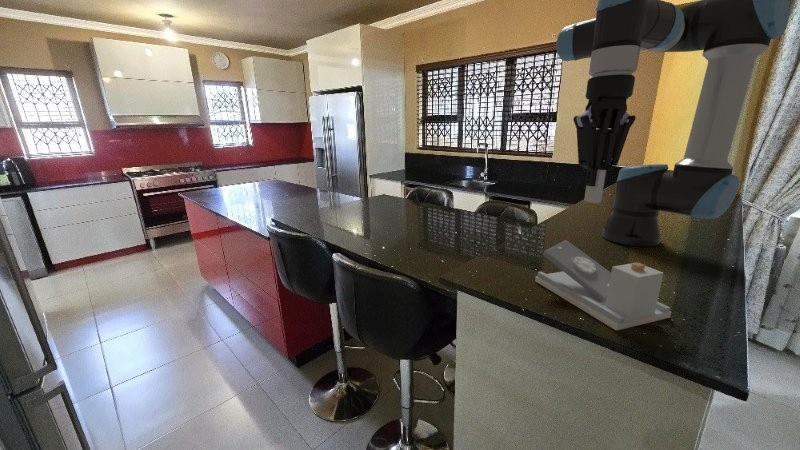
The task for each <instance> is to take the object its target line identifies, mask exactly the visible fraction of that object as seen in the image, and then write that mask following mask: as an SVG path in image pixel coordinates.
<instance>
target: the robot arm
mask: <svg viewBox="0 0 800 450" xmlns="http://www.w3.org/2000/svg"><path fill="white" fill-rule="evenodd" d="M595 10H596V13H595V15H596V16H595V17H594V18H590V19H587V20H584V21H580V22H575V23H573V24H571V25H570V24H569V25H568V26H565V27H563V28H562V29H561V30H560V32H559V34H558V35H557V38H556V52H557V53H556V54H557V55H558V57H559V58H560V59H561V60H562V61H564V62H572V61H575V62H576V61H579V60H585V59H589V58H590V62H589V63H590V64H589V70H588V74H589V76H591V77H590V78H588V80H587V83H586V84H587V85H586V92H585V99H586V100H588V102H587V104H586V106H585V109H584V110H585V111H584V112H582V113H581V114H580V115H579V114H578V115H574V117H573V119H572V120H573V123H574V125H575V128H576V142H577V145H576V146H577V159H578V161H577V163H578V166H579V167H582V169H585V170H586V173H585V181H584V185H585V190H584V191H585V192H584V199H583V202H587V203H592V204H602V198H603V192H604V186H605V185H606V182H607V177H608V176H607V175H608V170H609V171H612V170H613V169H614V167H616V166H618V164H619V160H620V158H621V155H622V151H623V150H624V147H625V143H626V141H627V137H628V135H629V133H630V129H631V127H633V125H634V123H635V122H636V115H630V114H629V113H628V112H627V111H628V104H627V101H628V99H630V98H631V97H632V96H633V93H634V87H635V81H636V76H635V75H633V74H634V73H635V72H636V71H637V70H638V65H639V61H640V60H639V59H640V54H641V52H642V51H648V52H651V53H658V54H660V53H687V52H698V51H702V57H703V58H704V59H706V60H707V67H706V69H705V73H704V77H703V81H702V85H701V89H700V93H699V97H698V101H697V104H696V109H695V111H694V112H695V113H694V116H693V117H694V118H693V121H692V124H691V129H690V131H689V136H688V140H687V144H686V148H685V151H684V152H685V153H684V156H683V158H682V159H680V160H679V161H677V162H675V163H674V167H673V170H672V169H669V165H668V164H667V163H666V164H664V163H661V164H660V163H659V164H658V163H657V164H656V163H655V164H654V163H653V164H640V165H639V164H638V165H626V166H623V167H622V168H620V169H619V172H618V176H617V180H616V185H615V186H616V187H615V193H614V199H613V200H614V201H613V204H612V205H613V206H612V212H611V214H610V216H609V217H608V219H607V221H606V223H605V225H604V227H603V228H602V233H601V236H602V238H604V239H605V240H607V241H609V242H613V243H616V244H621V245H624V246H632V247H641V248H642V247H643V248H645V247H646V248H647V247H648V248H649V247H650V248H651V247H655V246H659V245H660V244H661V239H662V234H661V230H660V224H659V220H658V219H659V218H658V217H659V212H664V213H665V212H666V213H669V214H676V215H683V216H689V217H690V218H691V217H692V218H699V219H709V220H713V219H716V218H719V217H720V216H722V215H723V214H724V213H726V211H727V210H728V209H729V207H730V206H731V204H732V203H733V201H734V200H735V197H736V196H737V194H738V192H739V191H738V190H739V187H740V185H739V184H740V181H741V180H740V178H739V176H738V175H736V174H733V171H734V167H733V166H732V164H731V163H730V162H729V161H728V160H729V159H728V158H729V155H730V151H731V149H732V144H733V141H734V138H735V133H736V131H737V127H738V123H739V119H740V116H741V113H742V110H743V106H744V104H745V103H744V102H745V99H746V95H747V91H748V89H749V86H750V85H749V84H750V83H751V79H752V74H753V72H754V71H753V70H754V67H755V64H756V61H757V58H758V57H759V56H760V55H762V54H763V53H765V52H766V51H768V50H769V47H770V43H771V40H777V39H779V38H780V37H782V36H783V35H784V34H785V31H786V29H787V26H788V23H789V17H790V0H699V1H696V2H693V3H690V4H686V5H684V6H681V7H678V6H676V5H675V4H674V3H672V2H669V1H665V0H598V2H597V6H596V9H595Z"/></svg>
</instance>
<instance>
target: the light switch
mask: <svg viewBox="0 0 800 450" xmlns="http://www.w3.org/2000/svg"><path fill="white" fill-rule="evenodd" d="M542 256H543V257H545V258H546V259H547V260H548V261H550V262H551V263H552V264H553V265H555V266H556V267H557V268H559V270H561V272H563V271H564V272H565V273H566V274H567V275H569V276H570V277H571V278H572V279H574V280H575V281H576V282H577V283H579V284H580V285H581V286H582V287H584V288H585V289H586V290H587V291H589V292H590V293H591V294H592V295H594V296H595V297H596V298H597V299H599V300H600V301H601V302H603V301H605V300H606V299H607V295H608V289H609V283H610V278H611V272H612V271H609V270H608V269H606V268H605V267H604V266H602V264H600V263H599V262H597V261H596V260H594V259H593V258H592V257H590V256H589V255H587V254H586V253H585V252H583V251H582V250H581V249H580V248H578V247H576V246H575V245H574V244H572V243H571V242H570V241H568V240H567V239H564V240H563V241H561V242H559V243H556V244H555V245H553V246H552V247H550V248H548V249H545V250H544V251H543V253H542Z"/></svg>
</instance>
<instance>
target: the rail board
mask: <svg viewBox="0 0 800 450" xmlns="http://www.w3.org/2000/svg"><path fill="white" fill-rule="evenodd" d="M610 272H611V278H610V283H609V289H608V295H607V299H606V300H605V301H603V302H601V301H600V300H599V299H597V298H596V297H595V296H594V295H592V294H591V293H590V292H589V291H587V290H586V289H585V288H584V287H582V286H581V285H580V284H579V283H577V282H576V281H575V280H574V279H572V278H571V277H570V276H569V275H567V274H566V273H565V272H564V271H557V272H552V273H545V272H543V271H538V272H537V275H536V276H535V280H534V282H535V283H538V284H539V285H541V286H543V287H544V288H546V289H547V290H548V291H550V292H552V293H553V294H556V295H557V296H559V297H560V298H562V299H563V300H565V301H567V302H568V303H570V304H572V305H573V306H576V307H577V308H579V309H580V310H582V311H584V313H586V314H588V315H590V316H591V317H593V318H594V319H596V320H598V321H600V322H601V323H603V324H605V325H606V326H608V327H609V328H611V329H613V330H615V331H621V330H625V329H629V328H633V327H636V326H637V327H638V326H640V325H645V324H649V323H653V322H658V321H661V320H665V319H666V320H667V319H670V318H671V315H672V311H671V307H670V306H668V305H666V304H664V303H662V302H660V301H658V300H659V297H660V292H661V291H660V290H661V285H662V281H663V276H664V273H665V272H662V271H660V270H657V269H656V268H652V267H649V266H646V264H643V263H641V262H632V263H626V264H620V265H613V266H612V267H611V271H610Z"/></svg>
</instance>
